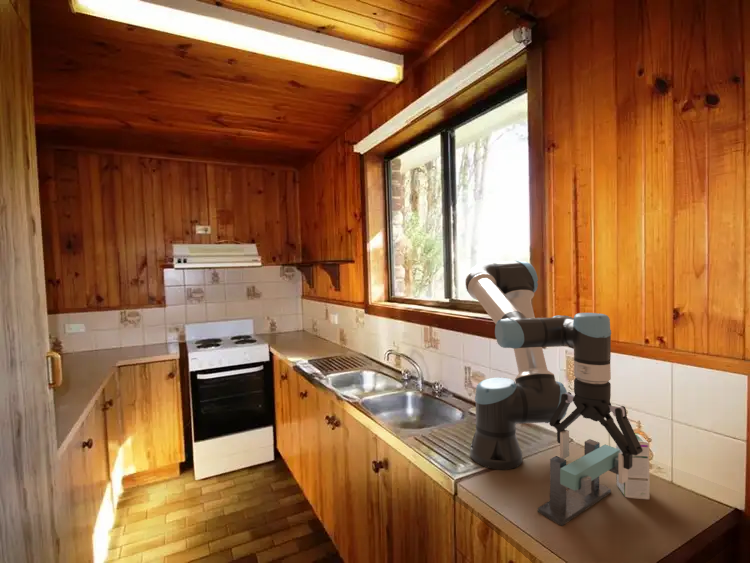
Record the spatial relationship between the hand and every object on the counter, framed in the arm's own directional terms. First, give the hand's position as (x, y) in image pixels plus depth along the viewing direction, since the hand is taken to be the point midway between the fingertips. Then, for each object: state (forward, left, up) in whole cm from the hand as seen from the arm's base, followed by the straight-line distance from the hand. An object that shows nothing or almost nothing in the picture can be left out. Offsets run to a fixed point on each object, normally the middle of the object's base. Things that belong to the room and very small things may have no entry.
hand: (592, 468), depth 92 cm
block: (0, 0, -1) cm, 1 cm away
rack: (-2, 0, -10) cm, 10 cm away
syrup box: (+2, +16, -11) cm, 19 cm away
